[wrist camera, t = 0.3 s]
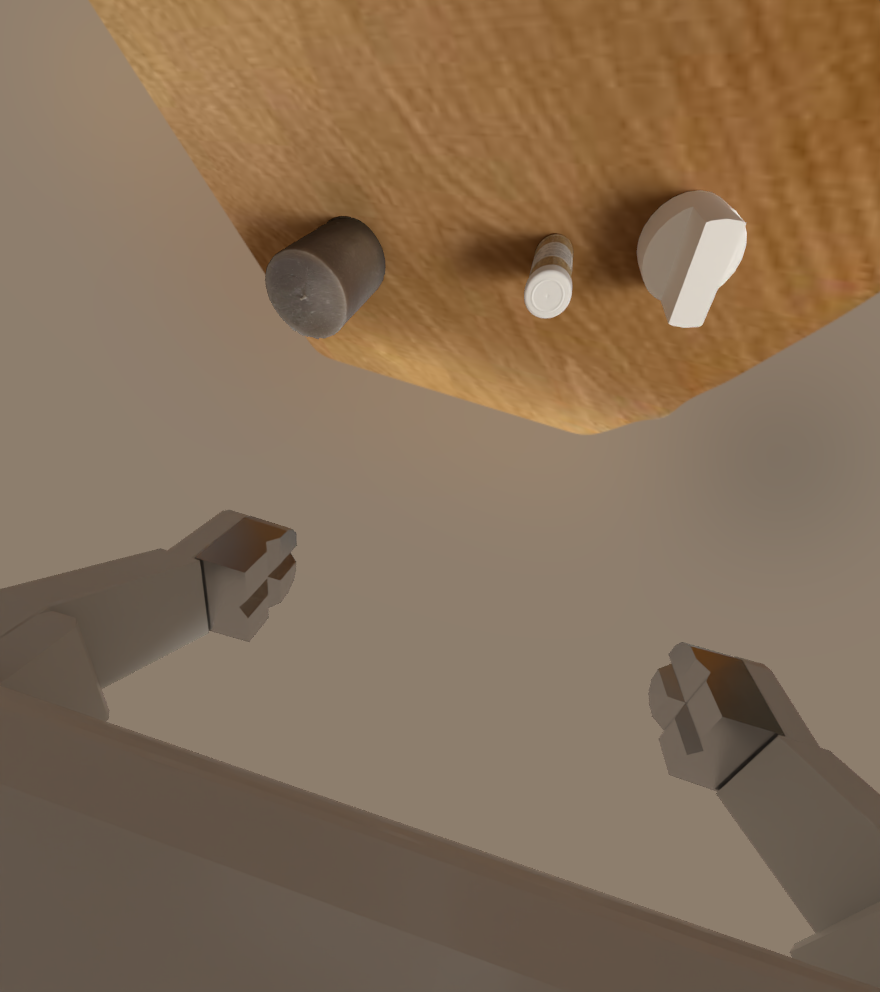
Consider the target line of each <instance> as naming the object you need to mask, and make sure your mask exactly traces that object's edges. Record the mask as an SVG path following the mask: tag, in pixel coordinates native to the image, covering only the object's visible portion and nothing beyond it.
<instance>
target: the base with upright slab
mask: <svg viewBox="0 0 880 992" xmlns="http://www.w3.org/2000/svg"><path fill="white" fill-rule="evenodd" d="M745 225H746V223H745V222H744V221H743V219H742V218H741V217H740V216H739V214H738V213H737V212H736V211H735V210H734V209H733V208H732V207H731V206H730V205H729V204H728V203H726V202H725V201H724V200H723V199H722V198H721V197H719V196H717V195H716V194H714V193H712V192H708V191H702V190H697V191H690V192H685V193H683V194H680V195H678V196H675V197H673V198H672V199H670V200H669V201H667V202H666V203H664V204H663V205H661V206H660V207H659V208H658V209H657V210H656V211H655V212H654V213H653V214H652V215H651V217H650V218H649V220H648V221H647V223H646V224H645V226H644V227H643V230H642V232H641V235H640V237H639V240H638V246H637V259H638V265H639V268H640V271H641V275H642V278H643V281H644V283H645V286H646V288H647V290H648V291H649V292H650V293H651V294H652V295H653V296H654V297H655V298H657V299H659V300H661V303H662V306H663V309H664V312H665V315H666V318H667V320H668V323H669V324H670V325H673V326H678V327H683V328H687V327H699V326H702V324H703V322H704V320H705V317H706V315H707V313H708V311H709V308H710V306H711V304H712V301H713V299H714V297H715V294H716V292H717V290H718V288H719V287H720V286H722V285H723V284H724V283H725V282H726V281H727V280H728V279H729V277H730V276H731V275H732V274H733V273H734V272H735V270H736V268H737V266H738V265H739V263H740V261H741V260H742V257H743V254H744V251H745V247H746V237H747V232H746V228H745Z"/></svg>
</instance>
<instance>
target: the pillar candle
mask: <svg viewBox="0 0 880 992" xmlns="http://www.w3.org/2000/svg"><path fill="white" fill-rule="evenodd" d="M384 274H385V258H384V253H383V250H382V247H381V245H380V243H379V241H378V239H377V238H376V236H375V235H374V233H373V232H372V231H371V230H370V228H368V227H367V226H366V225H365V224H364V223H362V222H361V221H359V220H357V219H355V218H351V217H344V216H341V217H336V218H333V219H331V220H329V221H328V222H327V223H326V224H324V225H322V226H320V227H319V228H318V229H316V230H314V231H313V232H311V233H310V234H308V235H306V236H304V237H303V238H301V239H300V240H298V241H296V242H294V243H293V244H291V245H289V246H288V247H286V248H285V249H283V250H281V251H280V252H278V253H277V254H276V255H275V256H274V257H273V258H272V259H271V261H270V262H269V264H268V266H267V270H266V279H265V281H266V288H267V292H268V296H269V299H270V301H271V303H272V305H273V306H274V308H275V310H276V311H277V313H278V314H279V316H280V317H281V318H282V319H283V320H284V321H285V322H286V323H287V324H288V325H289V326H290V327H291V328H292V329H293V330H295V331H297V332H298V333H299V334H301V335H304V336H307V337H308V336H309V337H313V338H316V339H319V338H327V337H329V336H331V335H334V334H335V333H337V332H338V331H339V330H340V329H341V328H342V326H343V325H344V324H345V323H346V322H347V321H348V320H349V319H350V318H351V317H352V315H354V313H355V312H356V311H357V310H358V309H359V308H360V307H361V306H362V305H363V304H364V303H365V302H366V301H367V300H368V299H369V297H370V296H371V295H372V294H373V293H374V292H375V291H376V290H377V289H378V287H379V286H380V284H381V282H382V281H383V277H384Z"/></svg>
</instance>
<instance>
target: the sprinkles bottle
mask: <svg viewBox="0 0 880 992" xmlns="http://www.w3.org/2000/svg"><path fill="white" fill-rule="evenodd" d="M572 259H573V247H572V244H571V242H570V240H569V239H567V238H566V237H565V236H563V235H560V234H553V235H550V236H547V237H546V238H544V239H543V240H542V241H541V242H540V244H539V245H538V247H537V249H536V251H535V256H534V260H533V264H532V268H531V272H530V276H529V279H528V281H527V283H526V286H525V292H524V301H525V305H526V307H527V309H528V310H529V311H530V312H531V313H532V314H533V315H534V316H536V317H539V318H552V317H555V316H557V315H559V314H560V313H561V312H563V311H564V310H565V308H566V307H567V306H568V304H569V302H570V299H571V295H572V280H571V274H572V261H573V260H572Z"/></svg>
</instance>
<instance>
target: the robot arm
mask: <svg viewBox="0 0 880 992" xmlns="http://www.w3.org/2000/svg"><path fill="white" fill-rule="evenodd" d="M296 544H297V543H296V532H295V531H294V530H293V529H290V528H287V527H284V526H281V525H278V524H275V523H272V522H268V521H265V520H262V519H259V518H256V517H252V516H248V515H245V514H242V513H238V512H235V511H232V510H226V511H222V512H221V513H219V514H217V515H216V516H215V517H213V518H212V519H211V520H209V521H208V522H206V523H205V524H204V525H202V526H201V527H199V528H198V529H197V530H195V531H194V532H193V533H191V534H190V535H188V536H187V537H186V538H184V539H183V540H181V541H180V542H179V543H177V544H176V545H175V546H173V547H172V548H170V549H169V550H168V551H167V550H164V549H156V550H152V551H149V552H145V553H141V554H137V555H133V556H129V557H125V558H121V559H117V560H113V561H109V562H105V563H101V564H97V565H93V566H89V567H86V568H82V569H78V570H74V571H70V572H66V573H62V574H58V575H54V576H50V577H46V578H42V579H38V580H34V581H31V582H26V583H22V584H18V585H15V586H11V587H7V588H3V589H0V992H880V794H879V793H878V792H876V791H875V790H874V789H873V788H872V787H870V785H868V784H867V783H866V782H865V781H864V780H863V779H862V778H860V777H859V776H858V775H857V774H856V773H855V772H854V771H852V770H851V769H850V768H849V767H848V766H847V765H846V764H844V763H843V762H842V761H841V760H840V759H839V758H837V757H836V756H835V755H834V754H833V753H832V752H831V751H829V750H826V749H823V748H820V746H819V745H818V743H817V742H816V740H815V739H814V737H813V736H812V734H811V732H810V731H809V729H808V728H807V726H806V724H805V723H804V721H803V720H802V718H801V716H800V715H799V713H798V712H797V710H796V709H795V707H794V705H793V704H792V703H791V701H790V699H789V697H788V696H787V694H786V693H785V691H784V690H783V688H782V686H781V685H780V683H779V682H778V680H777V678H776V677H775V675H774V674H773V672H772V671H771V670H770V669H769V668H768V667H766V666H765V665H764V664H762V663H758V662H754V661H750V660H747V659H743V658H739V657H733V656H730V655H726V654H723V653H719V652H715V651H712V650H709V649H705V648H701V647H698V646H694V645H691V644H687V643H684V642H681V643H679V644H677V645H676V646H675V647H674V648H673V649H672V651H671V652H670V653H669V657H670V661H671V664H669V665H667V666H664V667H662V668H659V669H658V670H657V672H656V673H655V675H654V677H653V678H652V680H651V684H650V689H649V705H650V709H651V713H652V717H653V718H654V719H655V720H656V721H657V723H658V724H659V725H660V726H661V727H662V729H663V732H662V734H661V736H660V738H659V741H660V745H661V748H662V752H663V755H664V759H665V762H666V765H667V769H668V773H669V775H671V776H674V777H677V778H680V779H683V780H686V781H689V782H691V783H694V784H697V785H700V786H703V787H706V788H709V789H711V790H714V791H717V793H716V794H717V796H718V797H719V798H720V800H721V801H722V803H723V804H724V805H725V807H726V808H727V810H728V811H729V812H730V814H731V815H732V817H733V818H734V819H735V821H736V822H737V823H738V825H739V826H740V828H741V829H742V831H743V832H744V833H745V835H746V836H747V837H748V839H749V841H750V842H751V843H752V845H753V846H754V848H755V849H756V850H757V852H758V853H759V855H760V856H761V857H762V859H763V860H764V861H765V863H766V864H767V866H768V867H769V869H770V870H771V871H772V873H773V874H774V876H775V877H776V878H777V880H778V881H779V883H780V884H781V885H782V887H783V888H784V890H785V891H786V892H787V894H788V895H789V897H790V898H791V899H792V901H793V902H794V904H795V905H796V906H797V908H798V909H799V911H800V912H801V913H802V915H803V916H804V917H805V919H806V920H807V922H808V923H809V925H810V926H811V927H812V929H813V930H814V932H815V933H816V934H814V935H812V936H810V937H808V938H806V939H804V940H801V941H799V942H798V943H795V944H794V946H793V948H792V949H791V951H790V953H791V956H792V958H791V957H788V956H785V955H782V954H779V953H776V952H774V951H771V950H767V949H765V948H762V947H759V946H756V945H753V944H750V943H747V942H745V941H742V940H739V939H736V938H733V937H730V936H727V935H724V934H721V933H718V932H716V931H713V930H710V929H706V928H704V927H701V926H698V925H695V924H692V923H689V922H687V921H684V920H681V919H678V918H675V917H672V916H669V915H666V914H663V913H660V912H658V911H655V910H652V909H649V908H646V907H643V906H640V905H637V904H634V903H631V902H629V901H625V900H623V899H620V898H617V897H614V896H611V895H608V894H605V893H603V892H599V891H597V890H594V889H591V888H588V887H585V886H582V885H579V884H576V883H574V882H571V881H568V880H565V879H562V878H559V877H556V876H553V875H550V874H547V873H545V872H542V871H539V870H536V869H533V868H530V867H527V866H524V865H521V864H518V863H515V862H513V861H509V860H507V859H504V858H501V857H498V856H495V855H492V854H489V853H487V852H483V851H481V850H478V849H475V848H472V847H469V846H466V845H463V844H460V843H457V842H455V841H452V840H449V839H446V838H443V837H440V836H437V835H434V834H431V833H428V832H425V831H423V830H420V829H417V828H413V827H411V826H408V825H405V824H402V823H399V822H396V821H393V820H390V819H388V818H385V817H382V816H379V815H376V814H373V813H370V812H367V811H364V810H361V809H359V808H356V807H353V806H350V805H347V804H344V803H341V802H338V801H335V800H332V799H329V798H327V797H323V796H321V795H318V794H315V793H312V792H309V791H306V790H303V789H300V788H297V787H294V786H292V785H289V784H286V783H283V782H280V781H277V780H274V779H271V778H268V777H266V776H262V775H260V774H257V773H254V772H251V771H248V770H245V769H242V768H239V767H236V766H233V765H231V764H228V763H225V762H222V761H219V760H216V759H213V758H210V757H207V756H204V755H201V754H199V753H196V752H193V751H190V750H187V749H184V748H181V747H178V746H175V745H172V744H170V743H167V742H163V741H161V740H158V739H155V738H152V737H149V736H146V735H143V734H140V733H138V732H134V731H132V730H129V729H126V728H123V727H120V726H117V725H114V724H111V723H108V722H106V721H107V720H108V718H109V709H108V706H107V703H106V700H105V697H104V695H103V692H102V689H103V688H105V687H107V686H108V685H111V684H112V683H114V682H116V681H118V680H120V679H122V678H124V677H126V676H128V675H130V674H131V673H134V672H135V671H137V670H139V669H141V668H143V667H145V666H147V665H149V664H151V663H153V662H155V661H156V660H158V659H160V658H162V657H164V656H166V655H168V654H170V653H172V652H174V651H176V650H178V649H179V648H181V647H183V646H185V645H187V644H189V643H191V642H193V641H195V640H197V639H199V638H200V637H202V636H204V635H206V634H208V633H209V631H213V632H216V633H220V634H223V635H226V636H230V637H233V638H237V639H241V640H244V641H248V642H250V640H251V639H252V638H253V637H254V635H255V634H256V633H257V632H258V630H259V629H260V628H261V627H262V625H263V624H264V623H265V621H266V620H267V619H268V608H269V607H272V606H274V605H276V604H279V603H281V601H282V600H283V599H284V597H285V596H286V594H287V593H288V591H289V589H290V587H291V585H292V583H293V581H294V577H295V572H296V561H295V559H294V557H293V556H292V554H291V553H290V552H291V551H292V550H293V549H294V548H295V547H296V546H297V545H296Z"/></svg>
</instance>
